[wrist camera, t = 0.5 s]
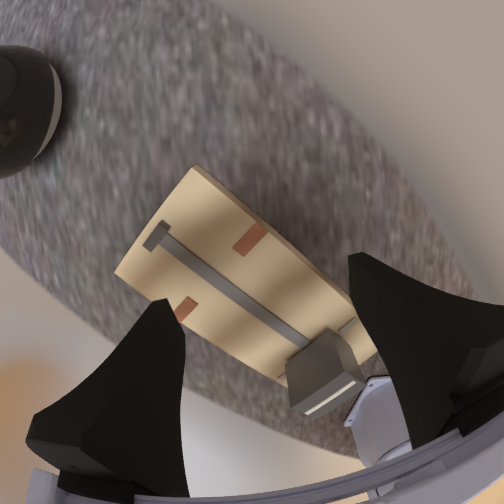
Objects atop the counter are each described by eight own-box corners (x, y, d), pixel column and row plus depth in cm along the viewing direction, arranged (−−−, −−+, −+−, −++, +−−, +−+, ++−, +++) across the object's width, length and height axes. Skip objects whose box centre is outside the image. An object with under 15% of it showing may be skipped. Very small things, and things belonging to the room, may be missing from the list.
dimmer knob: (350, 345, 23) (367, 387, 18) (307, 378, 24) (316, 420, 20) (329, 329, 22) (344, 372, 18) (284, 364, 24) (290, 409, 19)
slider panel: (382, 327, 26) (393, 347, 23) (307, 386, 28) (311, 407, 26) (196, 164, 20) (188, 169, 17) (123, 261, 22) (109, 278, 20)
